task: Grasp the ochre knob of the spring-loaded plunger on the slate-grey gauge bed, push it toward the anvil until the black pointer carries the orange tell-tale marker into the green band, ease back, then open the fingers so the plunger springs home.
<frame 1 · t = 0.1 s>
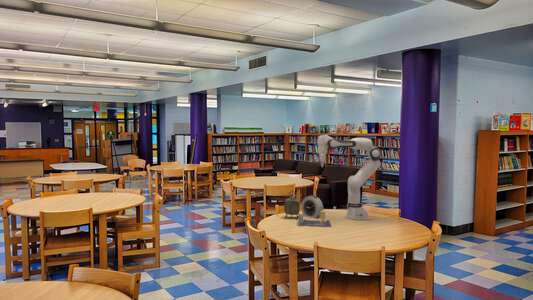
hand: (322, 166, 365), 48 cm above the table, fingers open, 8 cm apart
gauge bed: (314, 224, 338), on the table
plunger: (315, 217, 336), point 6 cm above the table, slide at 0.0 cm
tabletop clock: (291, 218, 360), on the table
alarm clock: (311, 216, 368), on the table
telltale: (321, 222, 331), point 3 cm above the table, slide at 0.0 cm
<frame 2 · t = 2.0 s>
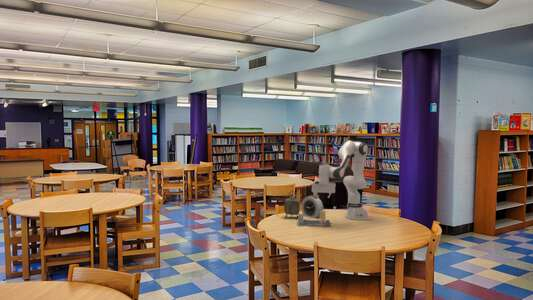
hand: (323, 197, 336), 23 cm above the table, fingers open, 8 cm apart
nothing on the table moved.
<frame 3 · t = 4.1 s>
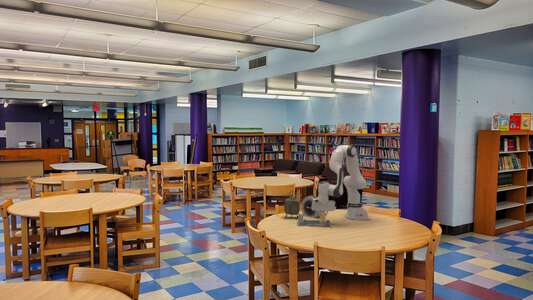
hand: (322, 215, 337), 8 cm above the table, fingers closed on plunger, 4 cm apart
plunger: (315, 217, 336), point 6 cm above the table, slide at 0.0 cm, touching gripper
everything else where it was.
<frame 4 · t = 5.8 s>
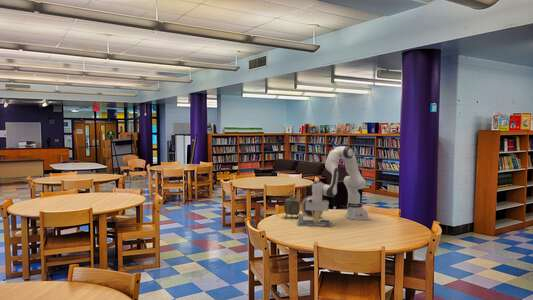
hand: (316, 215, 338), 8 cm above the table, fingers open, 4 cm apart
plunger: (309, 217, 336), point 6 cm above the table, slide at 5.3 cm, touching gripper, telltale
telltale: (315, 222, 332), point 3 cm above the table, slide at 4.9 cm, touching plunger
everything else where it was.
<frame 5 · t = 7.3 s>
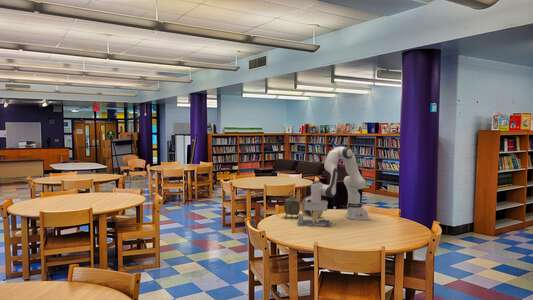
hand: (315, 215, 338), 8 cm above the table, fingers closed on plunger, 4 cm apart
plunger: (308, 217, 336), point 6 cm above the table, slide at 6.4 cm, touching gripper
telltale: (313, 222, 332), point 3 cm above the table, slide at 6.8 cm
everything else where it was.
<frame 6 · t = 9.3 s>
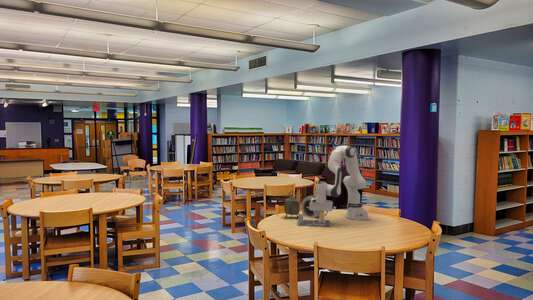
hand: (320, 215, 337), 8 cm above the table, fingers open, 8 cm apart
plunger: (314, 217, 336), point 7 cm above the table, slide at 0.8 cm
everything else where it was.
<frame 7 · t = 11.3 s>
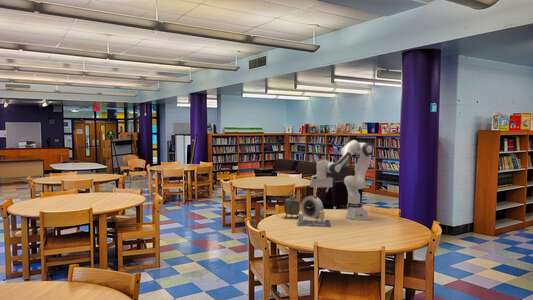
hand: (321, 192, 349), 26 cm above the table, fingers open, 8 cm apart
nothing on the table moved.
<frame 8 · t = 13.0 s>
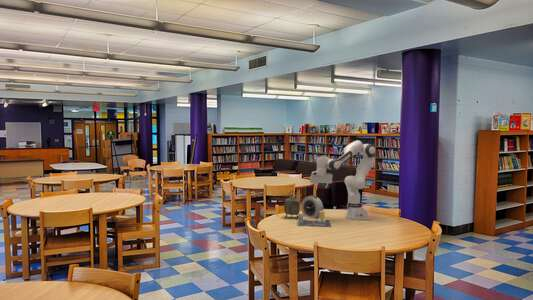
hand: (320, 188, 354), 29 cm above the table, fingers open, 8 cm apart
nothing on the table moved.
at the end: telltale slide at 6.8 cm; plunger slide at 0.8 cm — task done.
